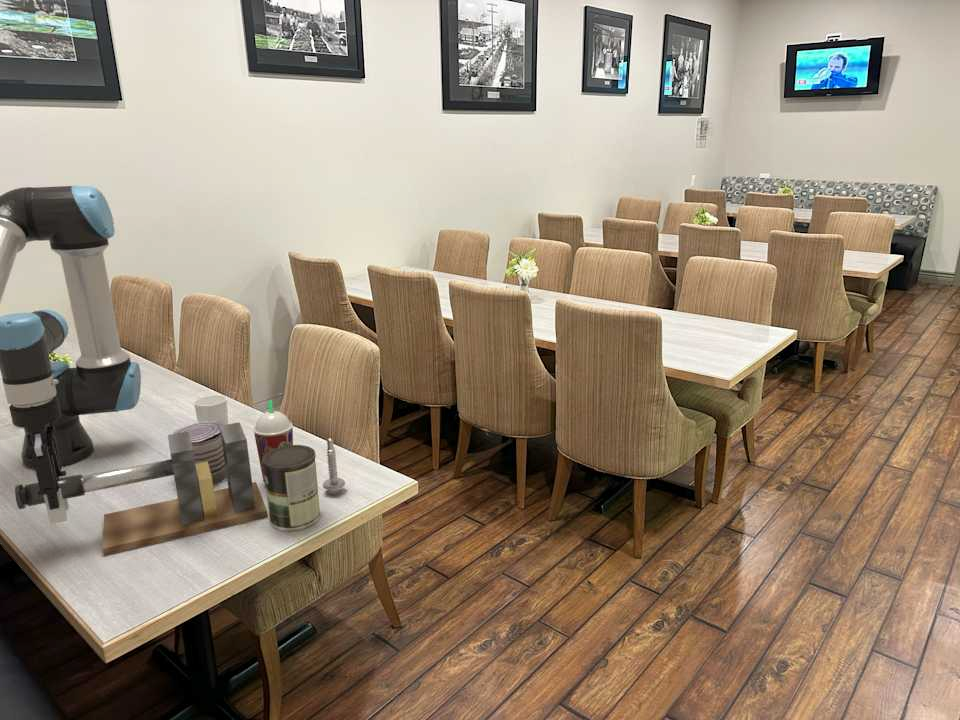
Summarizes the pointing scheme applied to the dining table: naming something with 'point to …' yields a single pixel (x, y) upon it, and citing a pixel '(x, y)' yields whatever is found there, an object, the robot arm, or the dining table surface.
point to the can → (208, 447)
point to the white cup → (211, 409)
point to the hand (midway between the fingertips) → (59, 515)
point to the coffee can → (291, 487)
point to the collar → (206, 489)
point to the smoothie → (272, 433)
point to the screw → (332, 471)
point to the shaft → (95, 482)
